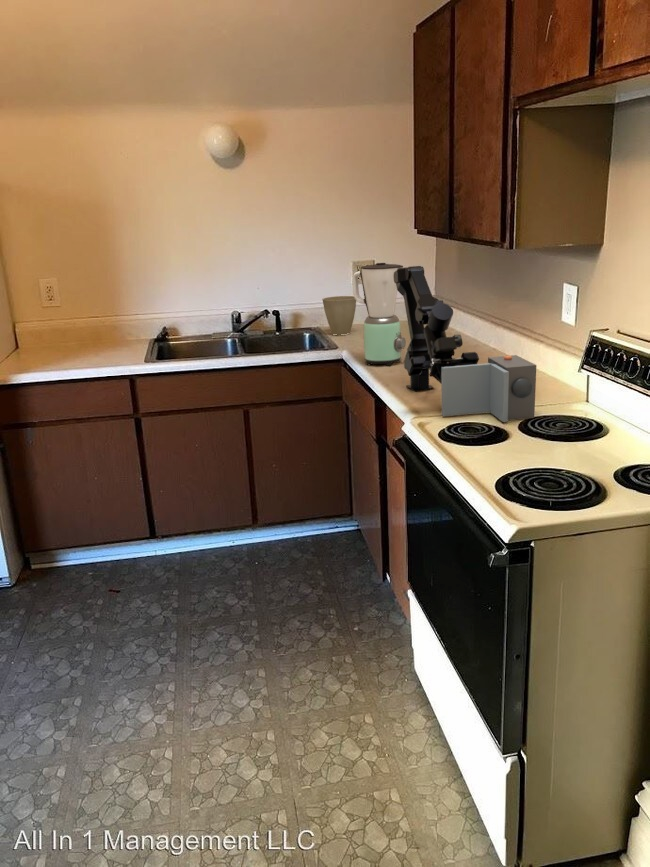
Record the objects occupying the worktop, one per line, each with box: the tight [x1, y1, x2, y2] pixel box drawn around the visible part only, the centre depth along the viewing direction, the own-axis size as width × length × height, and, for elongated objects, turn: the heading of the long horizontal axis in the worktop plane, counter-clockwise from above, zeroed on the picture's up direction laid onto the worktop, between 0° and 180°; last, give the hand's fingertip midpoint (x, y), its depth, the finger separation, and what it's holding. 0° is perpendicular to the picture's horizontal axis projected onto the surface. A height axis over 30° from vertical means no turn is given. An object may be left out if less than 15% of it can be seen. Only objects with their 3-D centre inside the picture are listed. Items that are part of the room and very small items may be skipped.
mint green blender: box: [352, 262, 407, 367], centre depth 252 cm, size 19×13×35 cm
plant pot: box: [322, 295, 357, 335], centre depth 313 cm, size 15×15×16 cm
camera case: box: [487, 354, 537, 421], centre depth 189 cm, size 14×8×15 cm, turn 8°
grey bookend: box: [441, 362, 509, 423], centre depth 185 cm, size 12×14×13 cm
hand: (449, 390), depth 190 cm, fingers closed, pressing on grey bookend
